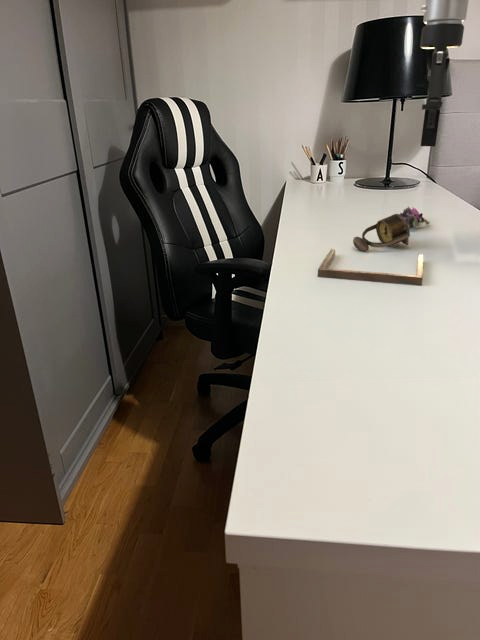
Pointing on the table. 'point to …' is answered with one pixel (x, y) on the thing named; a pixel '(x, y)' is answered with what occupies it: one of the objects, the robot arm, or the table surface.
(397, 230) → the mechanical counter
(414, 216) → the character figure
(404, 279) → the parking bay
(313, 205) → the table surface
